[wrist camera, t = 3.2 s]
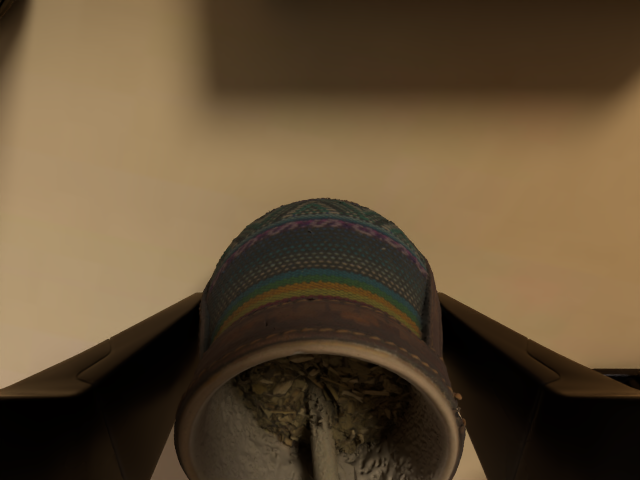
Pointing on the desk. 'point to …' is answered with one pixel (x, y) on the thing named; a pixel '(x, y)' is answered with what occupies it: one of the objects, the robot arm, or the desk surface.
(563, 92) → the desk surface
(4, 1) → the supplement container
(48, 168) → the desk surface
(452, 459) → the mate gourd
